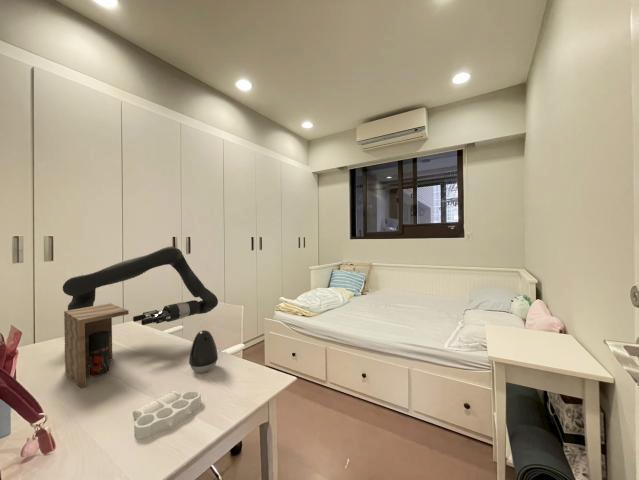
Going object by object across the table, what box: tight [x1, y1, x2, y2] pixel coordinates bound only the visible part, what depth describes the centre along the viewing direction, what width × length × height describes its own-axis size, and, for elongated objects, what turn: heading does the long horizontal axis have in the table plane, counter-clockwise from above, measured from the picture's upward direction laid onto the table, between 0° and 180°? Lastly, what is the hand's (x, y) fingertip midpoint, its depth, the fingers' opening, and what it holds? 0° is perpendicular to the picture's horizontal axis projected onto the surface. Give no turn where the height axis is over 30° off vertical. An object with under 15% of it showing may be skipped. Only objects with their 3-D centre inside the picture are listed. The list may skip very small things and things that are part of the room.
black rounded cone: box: [188, 329, 219, 374], centre depth 103 cm, size 10×10×15 cm
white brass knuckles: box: [132, 390, 202, 440], centre depth 77 cm, size 3×18×15 cm
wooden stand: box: [63, 302, 129, 389], centre depth 103 cm, size 20×14×24 cm
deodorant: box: [88, 331, 111, 377], centre depth 102 cm, size 6×6×15 cm
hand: (137, 320), depth 112 cm, fingers open, 8 cm apart
